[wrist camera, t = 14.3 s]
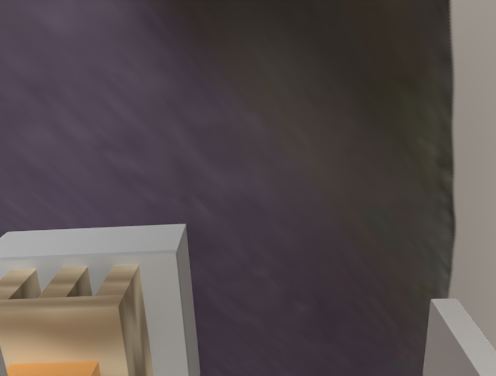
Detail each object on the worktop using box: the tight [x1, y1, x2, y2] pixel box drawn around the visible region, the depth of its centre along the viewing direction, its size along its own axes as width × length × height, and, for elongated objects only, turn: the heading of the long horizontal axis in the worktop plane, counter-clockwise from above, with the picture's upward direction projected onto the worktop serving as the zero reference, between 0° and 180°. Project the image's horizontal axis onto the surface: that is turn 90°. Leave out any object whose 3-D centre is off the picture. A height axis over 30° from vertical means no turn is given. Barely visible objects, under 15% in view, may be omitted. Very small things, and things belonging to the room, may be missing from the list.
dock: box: [0, 224, 200, 376], centre depth 41 cm, size 16×16×6 cm
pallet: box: [0, 264, 154, 376], centre depth 35 cm, size 14×10×6 cm
